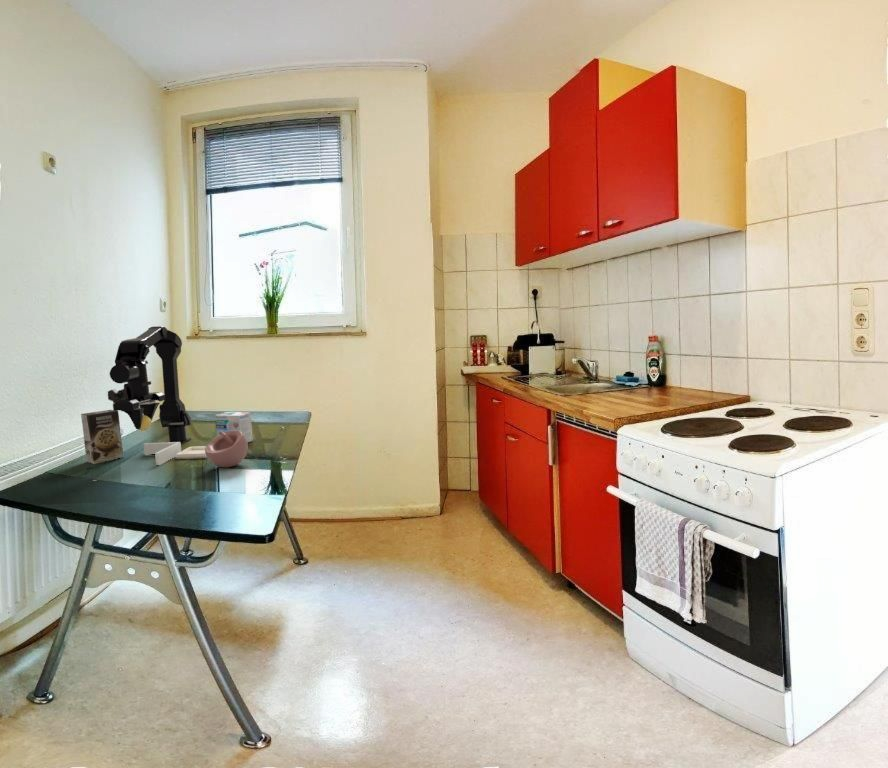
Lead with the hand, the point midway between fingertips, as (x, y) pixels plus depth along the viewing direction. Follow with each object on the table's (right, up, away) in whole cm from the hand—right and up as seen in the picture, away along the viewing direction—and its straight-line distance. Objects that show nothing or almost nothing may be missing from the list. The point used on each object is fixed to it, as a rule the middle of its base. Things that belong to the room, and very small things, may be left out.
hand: (143, 427), depth 168 cm
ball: (0, -1, 0) cm, 1 cm away
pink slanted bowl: (+32, -11, -10) cm, 35 cm away
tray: (+15, -10, +6) cm, 19 cm away
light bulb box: (+21, -8, +22) cm, 31 cm away
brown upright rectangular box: (-15, -11, +4) cm, 19 cm away
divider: (+2, -11, +1) cm, 11 cm away
